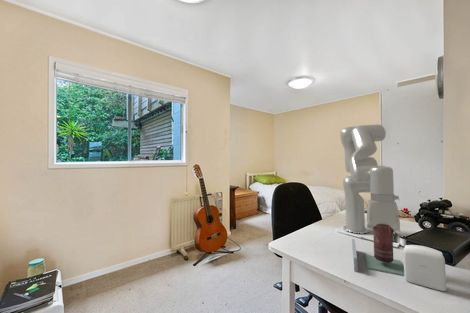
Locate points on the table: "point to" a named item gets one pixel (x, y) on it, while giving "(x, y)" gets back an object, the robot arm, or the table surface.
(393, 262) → the mat
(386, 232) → the can
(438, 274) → the photo printer
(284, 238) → the table surface
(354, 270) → the acrylic wall
